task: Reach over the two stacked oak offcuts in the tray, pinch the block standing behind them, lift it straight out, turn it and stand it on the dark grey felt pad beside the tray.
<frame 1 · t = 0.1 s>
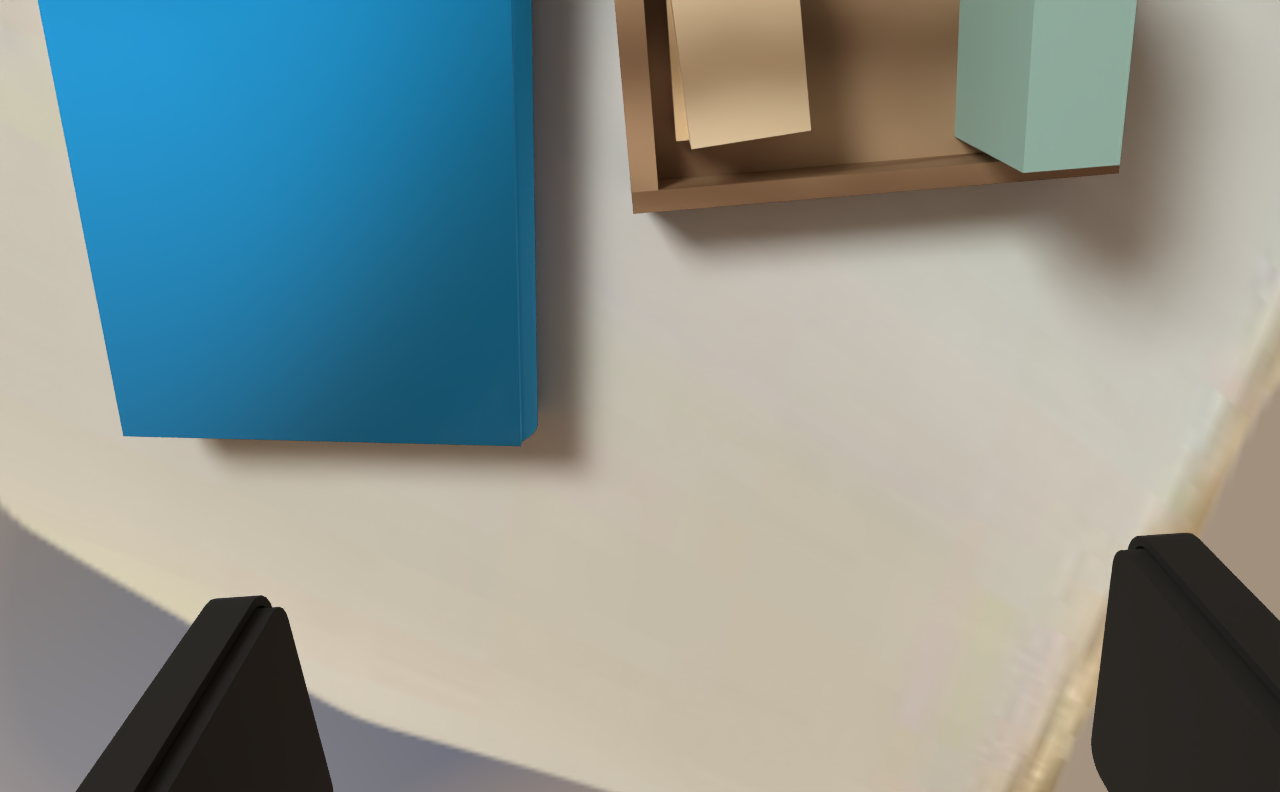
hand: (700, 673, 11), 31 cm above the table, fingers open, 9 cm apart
tray: (857, 18, 38), on the table
offcut low: (728, 32, 37), point 1 cm above the table, touching offcut top, tray
block: (1000, 7, 36), point 1 cm above the table, touching tray
offcut top: (736, 40, 35), point 3 cm above the table, touching offcut low
book: (328, 118, 40), on the table
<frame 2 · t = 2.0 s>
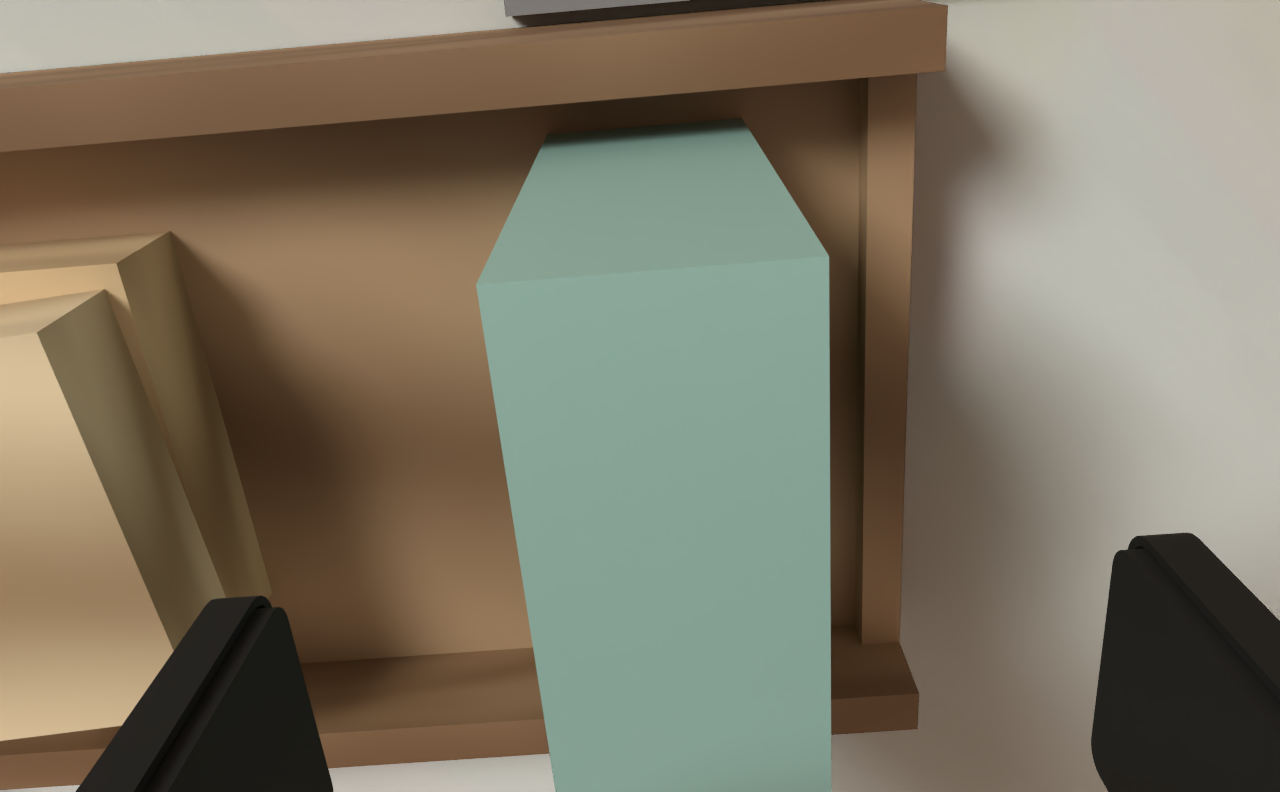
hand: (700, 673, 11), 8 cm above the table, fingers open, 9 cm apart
tray: (393, 387, 18), on the table
offcut low: (98, 436, 17), point 1 cm above the table, touching offcut top, tray
block: (665, 392, 17), point 1 cm above the table, touching tray
offcut top: (53, 497, 16), point 3 cm above the table, touching offcut low
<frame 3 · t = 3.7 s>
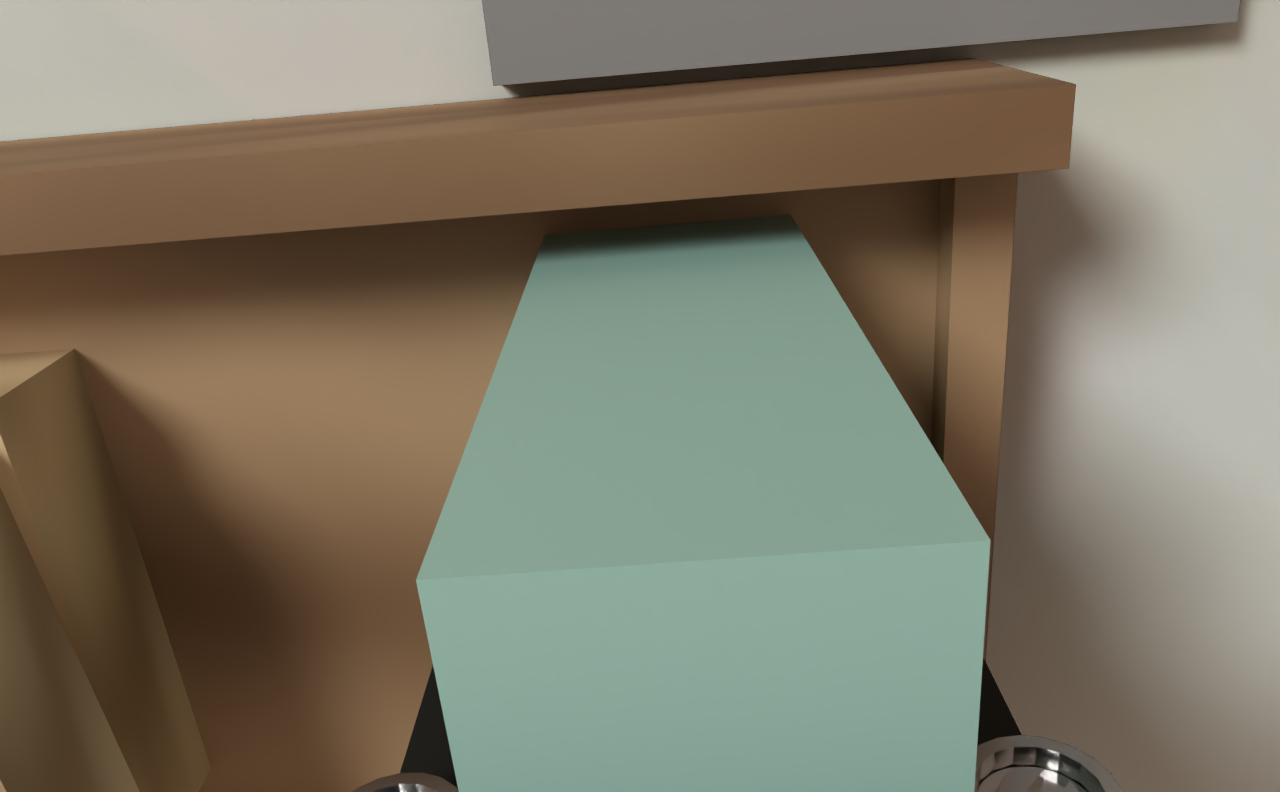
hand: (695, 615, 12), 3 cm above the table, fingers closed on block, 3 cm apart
tray: (358, 522, 15), on the table
block: (690, 542, 14), point 1 cm above the table, touching gripper, tray
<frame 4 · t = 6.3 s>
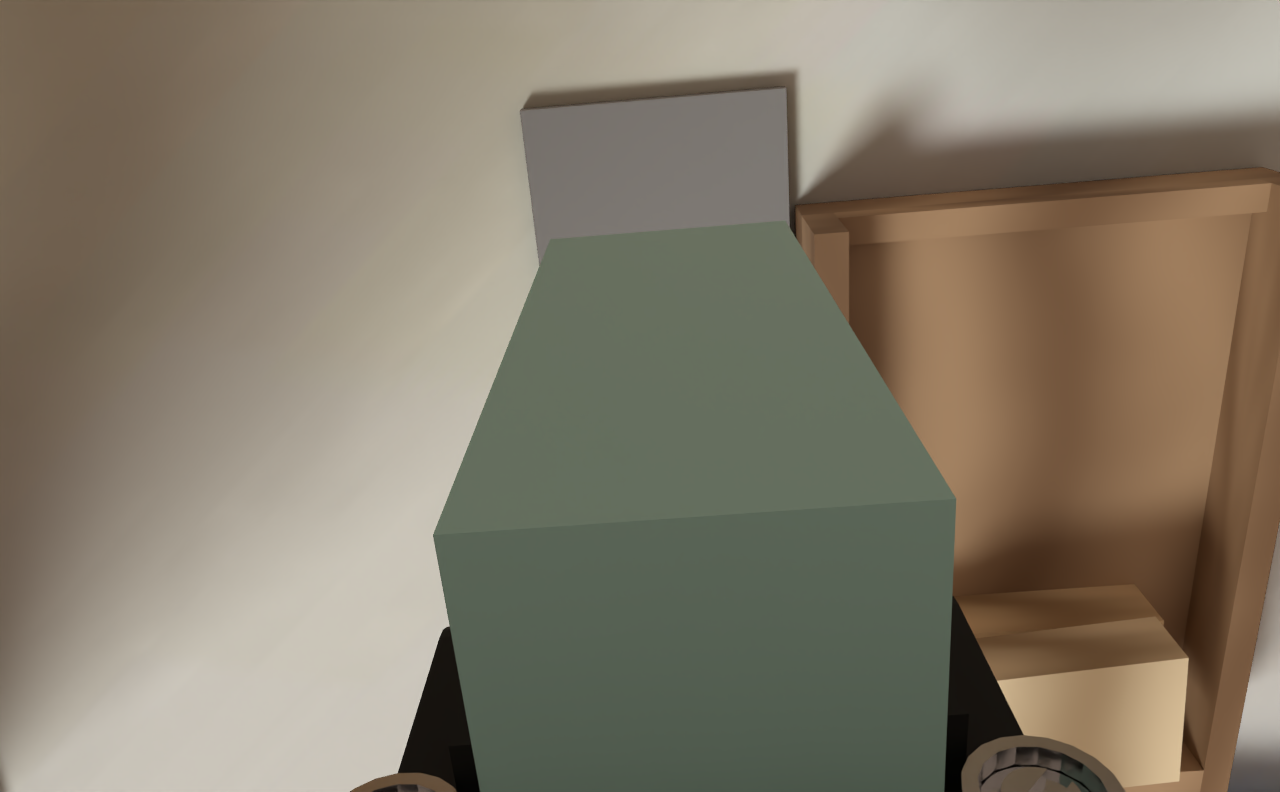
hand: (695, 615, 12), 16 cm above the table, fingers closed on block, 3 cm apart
tray: (1005, 491, 29), on the table
offcut low: (1008, 654, 30), point 1 cm above the table, touching offcut top, tray
block: (689, 537, 14), point 13 cm above the table, touching gripper
offcut top: (1037, 691, 28), point 3 cm above the table, touching offcut low
felt pad: (665, 271, 27), on the table
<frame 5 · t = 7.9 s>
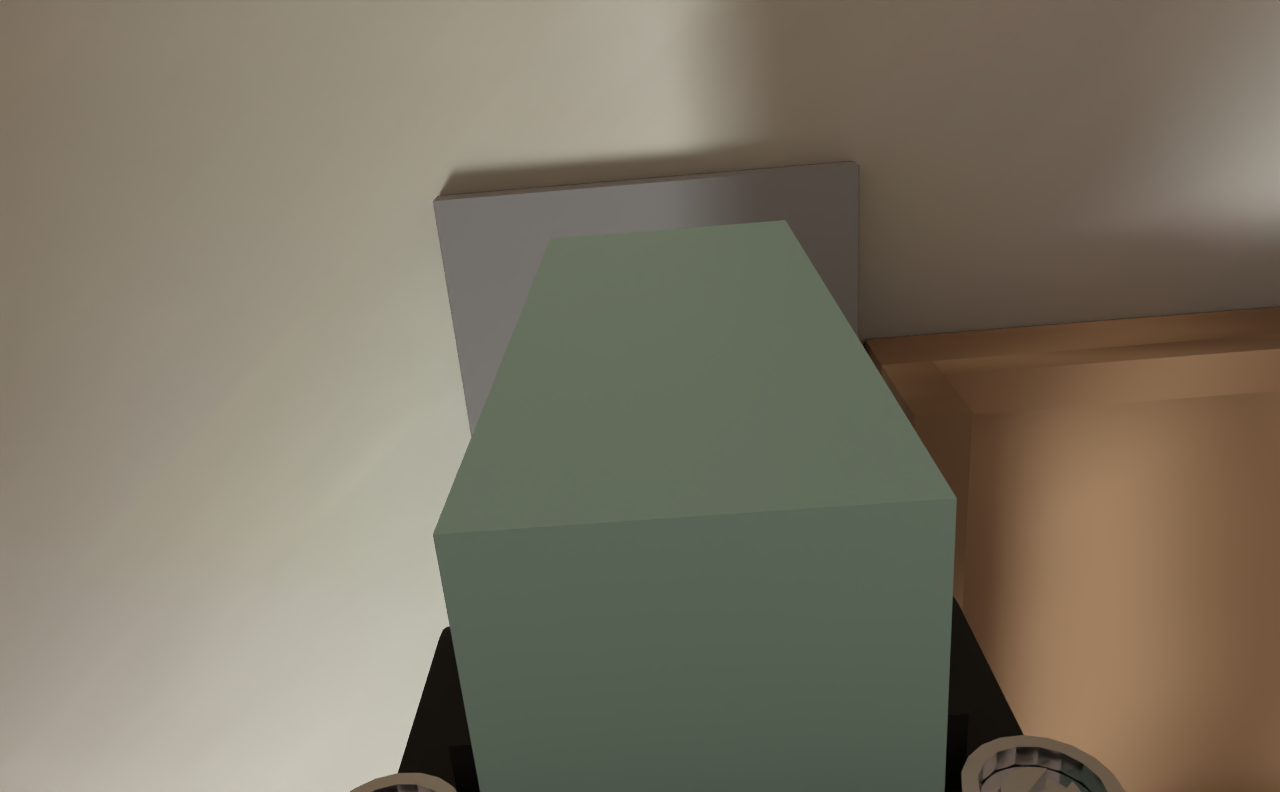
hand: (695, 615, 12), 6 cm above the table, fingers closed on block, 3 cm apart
tray: (1160, 734, 20), on the table
block: (689, 537, 14), point 3 cm above the table, touching gripper
felt pad: (665, 435, 17), on the table
when the fingers open (3 cm above the table, at t = 9.1 s): block stays where it is, resting on felt pad.
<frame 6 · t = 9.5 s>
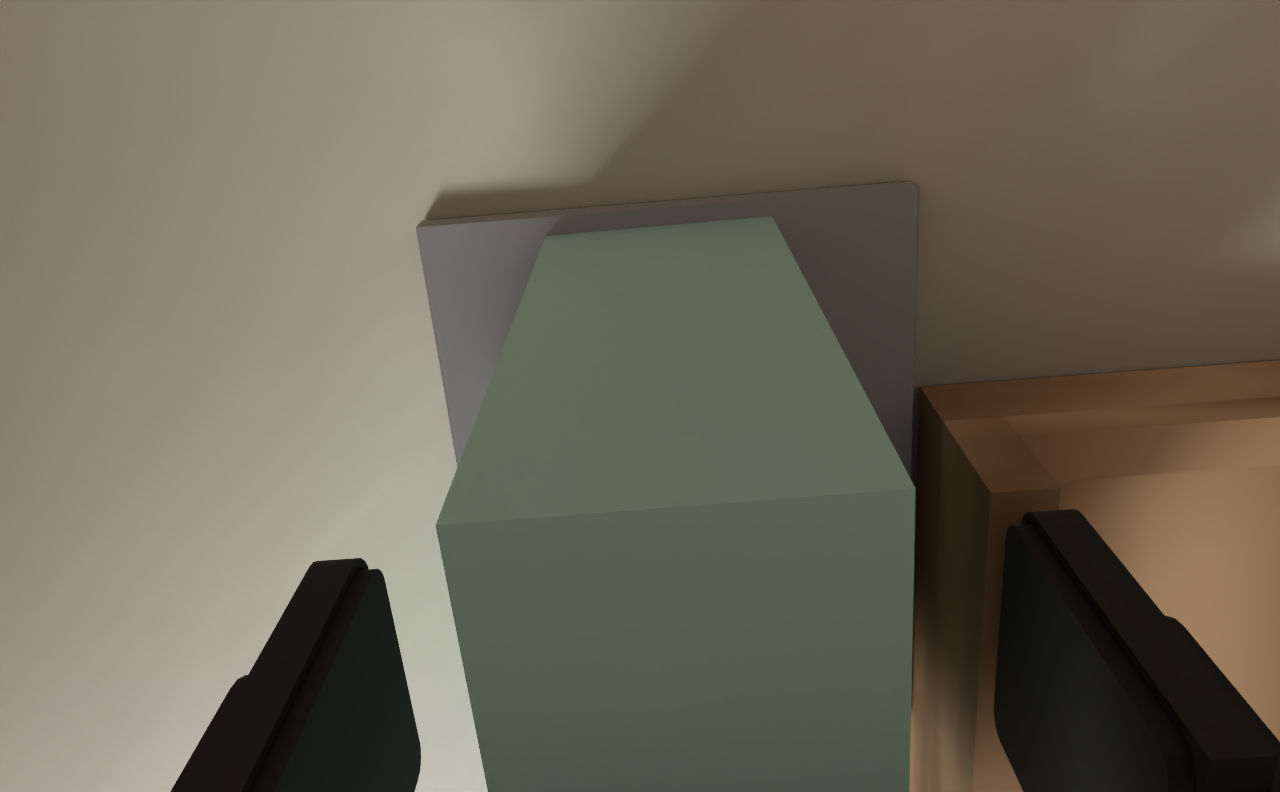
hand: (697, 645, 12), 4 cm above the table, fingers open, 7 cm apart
block: (683, 521, 15), resting on felt pad
felt pad: (686, 494, 15), on the table
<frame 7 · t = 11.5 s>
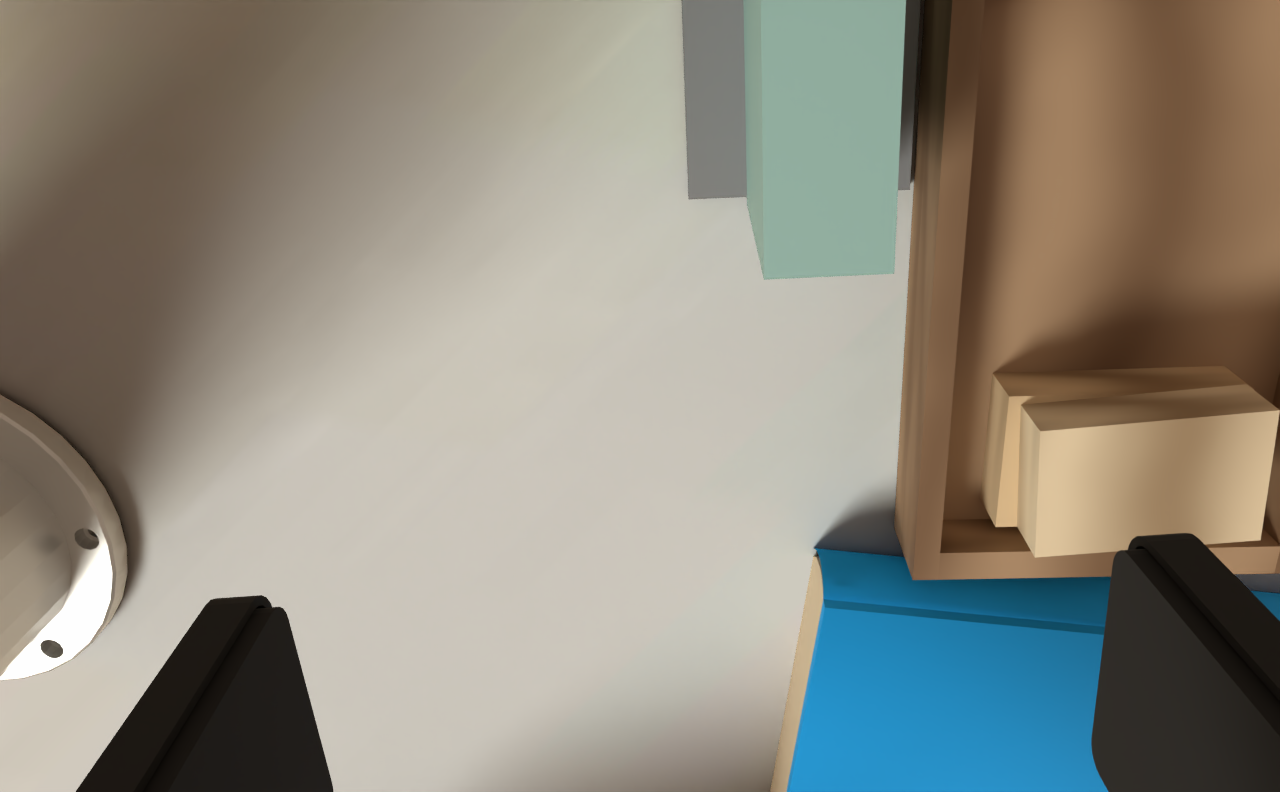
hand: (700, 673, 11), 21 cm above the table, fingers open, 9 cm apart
tray: (1104, 274, 31), on the table
offcut low: (1097, 434, 32), point 1 cm above the table, touching offcut top, tray
block: (797, 45, 28), resting on felt pad
offcut top: (1127, 457, 30), point 3 cm above the table, touching offcut low
felt pad: (798, 34, 28), on the table
book: (1092, 740, 39), on the table
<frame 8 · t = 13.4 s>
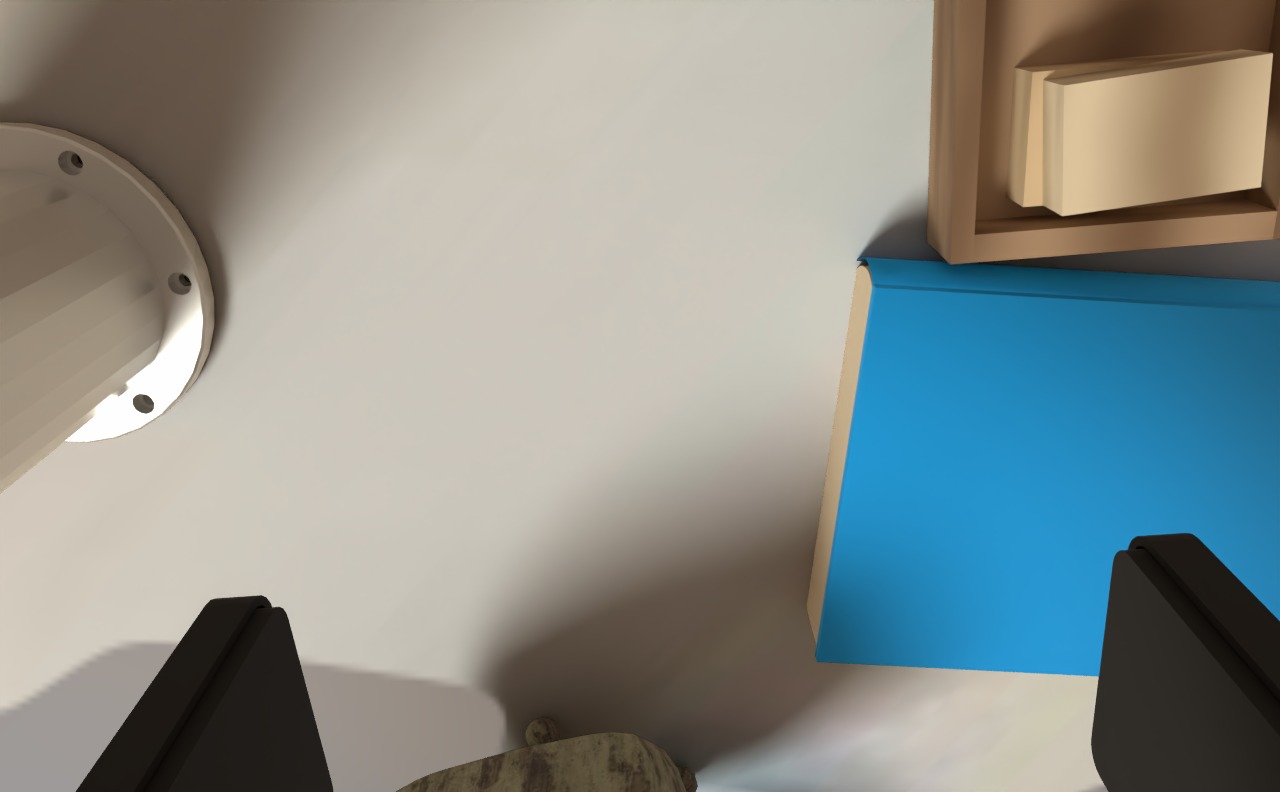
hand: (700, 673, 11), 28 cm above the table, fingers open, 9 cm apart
tabletop clock: (558, 750, 48), on the table
offcut low: (1109, 125, 35), point 1 cm above the table, touching offcut top, tray
offcut top: (1138, 129, 33), point 3 cm above the table, touching offcut low
book: (1114, 454, 42), on the table
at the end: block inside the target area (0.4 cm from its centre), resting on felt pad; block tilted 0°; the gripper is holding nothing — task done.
